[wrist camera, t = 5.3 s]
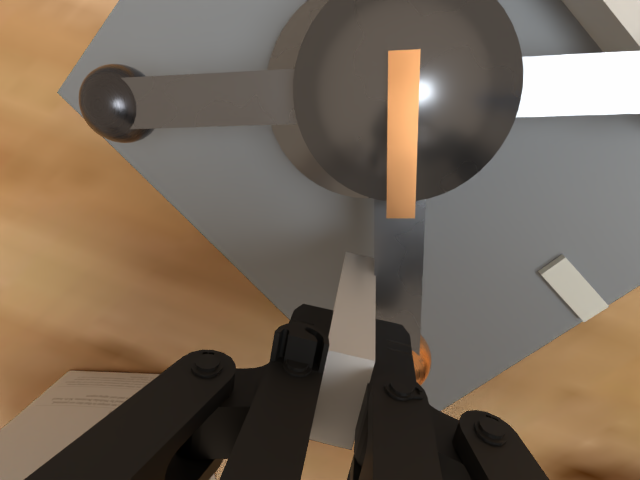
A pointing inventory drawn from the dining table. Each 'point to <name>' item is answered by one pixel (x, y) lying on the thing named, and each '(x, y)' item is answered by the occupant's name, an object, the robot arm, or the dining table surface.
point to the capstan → (379, 111)
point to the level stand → (441, 211)
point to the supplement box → (63, 417)
